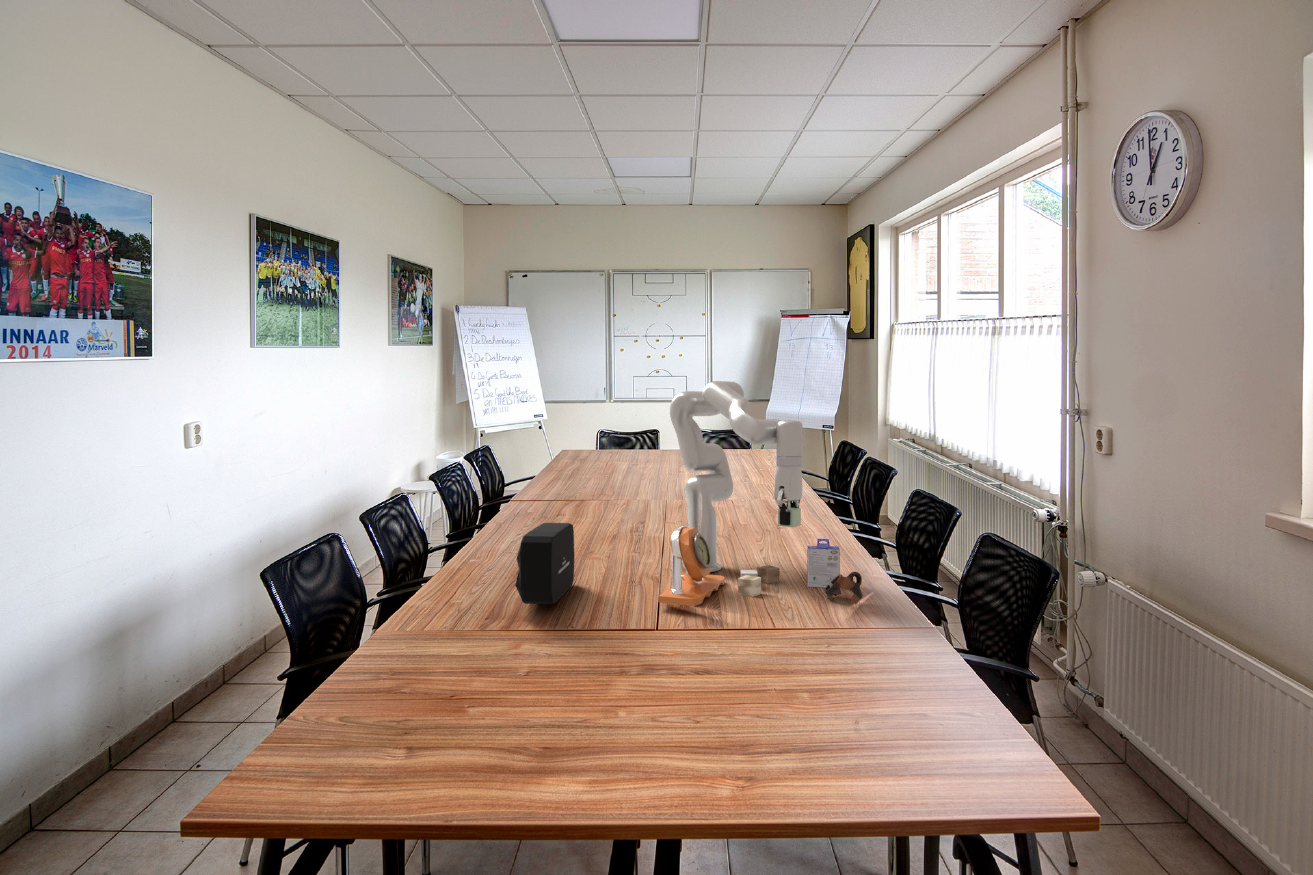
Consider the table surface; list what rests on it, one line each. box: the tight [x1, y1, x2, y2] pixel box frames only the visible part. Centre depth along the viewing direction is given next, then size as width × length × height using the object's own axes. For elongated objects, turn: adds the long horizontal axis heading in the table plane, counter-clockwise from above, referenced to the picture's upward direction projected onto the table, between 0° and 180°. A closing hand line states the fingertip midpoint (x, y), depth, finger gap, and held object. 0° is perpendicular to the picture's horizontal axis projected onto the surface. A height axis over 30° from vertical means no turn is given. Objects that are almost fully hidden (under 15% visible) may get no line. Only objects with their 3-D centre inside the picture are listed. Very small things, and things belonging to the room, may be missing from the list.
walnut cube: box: [756, 564, 781, 585], centre depth 224 cm, size 5×5×5 cm
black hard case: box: [515, 522, 575, 605], centre depth 210 cm, size 30×12×20 cm, turn 174°
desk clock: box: [658, 525, 725, 607], centre depth 211 cm, size 12×30×20 cm, turn 159°
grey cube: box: [740, 569, 758, 577], centre depth 218 cm, size 5×5×5 cm
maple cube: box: [737, 575, 762, 598], centre depth 210 cm, size 5×5×5 cm
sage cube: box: [777, 507, 802, 528], centre depth 208 cm, size 5×5×5 cm
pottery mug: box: [823, 571, 864, 606], centre depth 203 cm, size 12×9×8 cm
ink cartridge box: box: [806, 538, 841, 588], centre depth 220 cm, size 10×6×14 cm, turn 79°
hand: (789, 523), depth 209 cm, fingers closed on sage cube, 5 cm apart
